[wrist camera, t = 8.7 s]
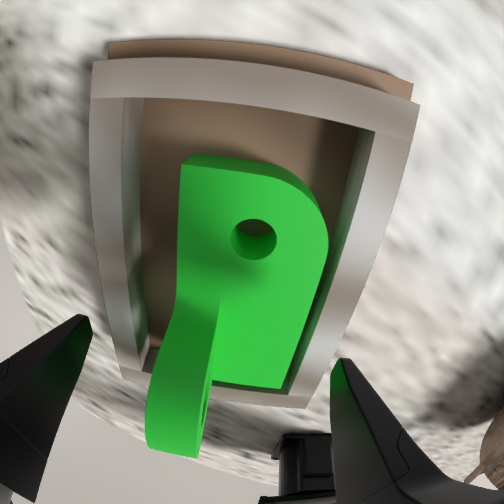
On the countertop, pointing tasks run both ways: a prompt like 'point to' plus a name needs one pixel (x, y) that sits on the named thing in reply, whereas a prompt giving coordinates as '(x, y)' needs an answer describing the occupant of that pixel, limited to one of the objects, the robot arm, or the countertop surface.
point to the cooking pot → (492, 453)
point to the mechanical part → (233, 290)
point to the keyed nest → (242, 147)
